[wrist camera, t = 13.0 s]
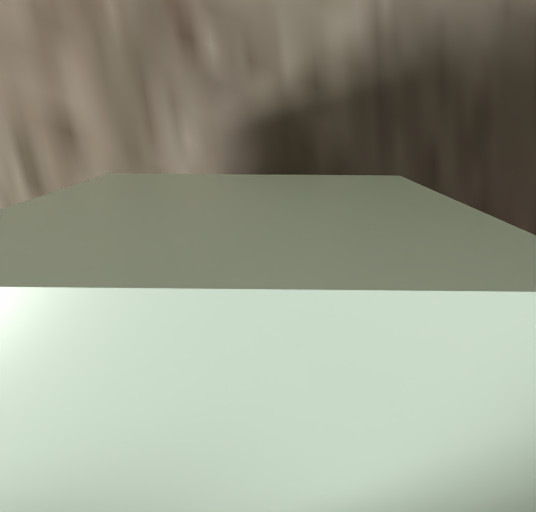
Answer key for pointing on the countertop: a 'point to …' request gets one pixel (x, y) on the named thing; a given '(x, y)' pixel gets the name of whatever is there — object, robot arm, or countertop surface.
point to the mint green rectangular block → (265, 348)
